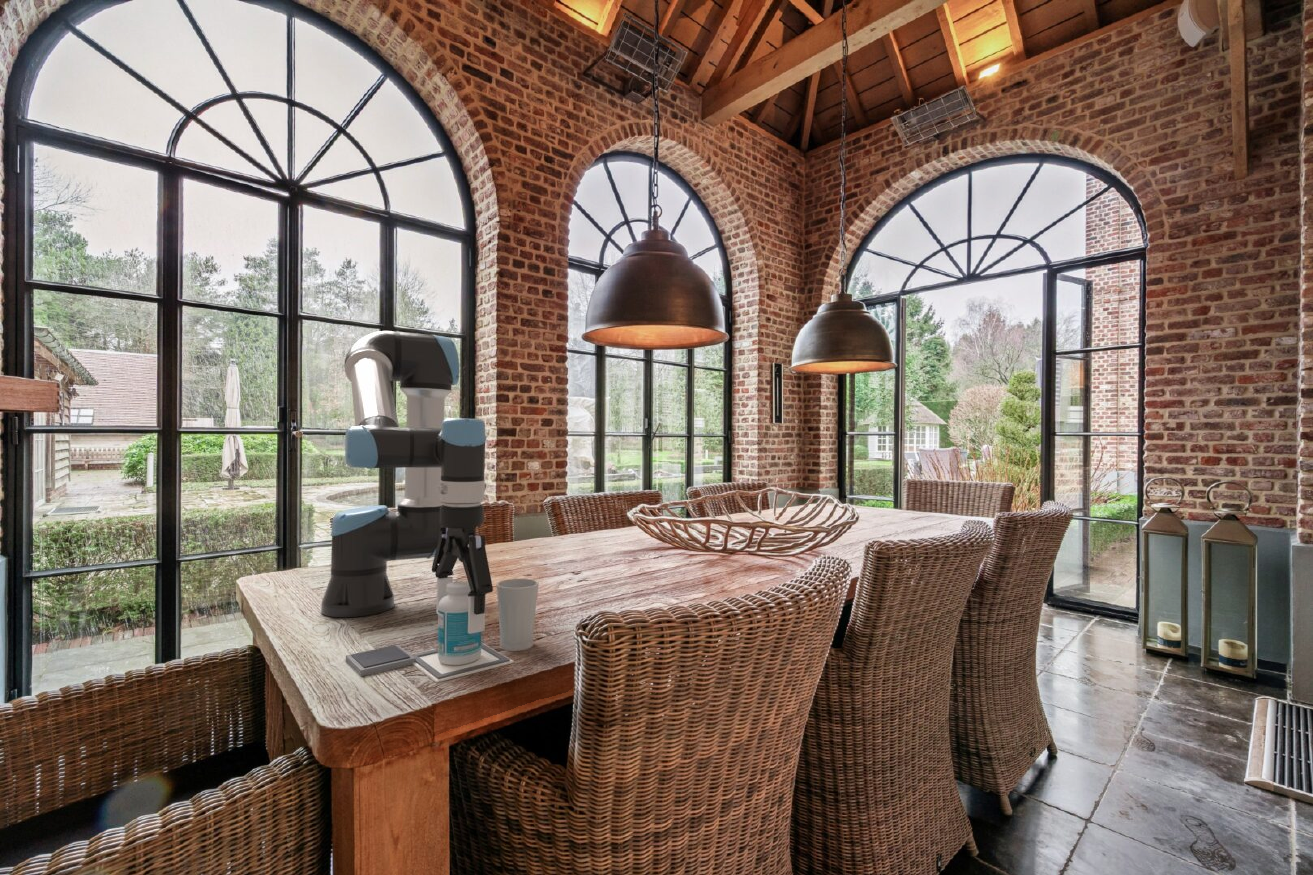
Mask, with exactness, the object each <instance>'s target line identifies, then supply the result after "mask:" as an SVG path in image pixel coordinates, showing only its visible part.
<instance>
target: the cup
mask: <svg viewBox="0 0 1313 875" xmlns="http://www.w3.org/2000/svg"><path fill="white" fill-rule="evenodd" d="M539 584H540V583H539V581H538V580H536V579H531V578H510V579H509V578H508V579H504V580H500V581H498V582H497V583H496V593H497V594H496V595H497V607H498V608H497V609H498V610H497V611H498V623H499V624H498V625H499V648H500V649H501V650H505V651H509V652H510V651H511V652H512V651H513V652H517V651H524V650H528V649H530V648H532V647H533V646H534V632H535V630H534V629H535V621H536V620H535V619H536V608H537V600H538V593H539Z"/></svg>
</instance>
